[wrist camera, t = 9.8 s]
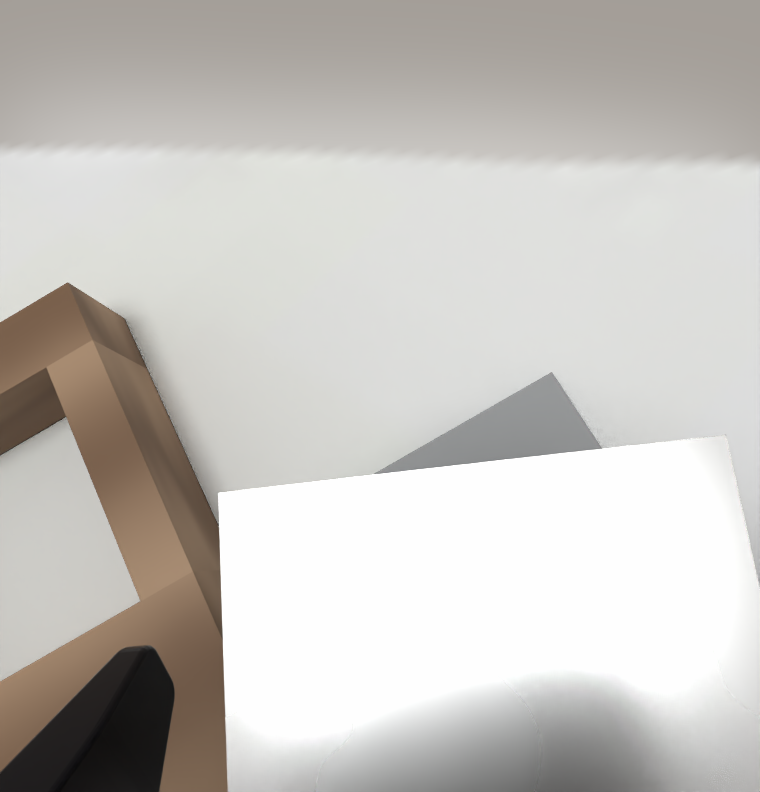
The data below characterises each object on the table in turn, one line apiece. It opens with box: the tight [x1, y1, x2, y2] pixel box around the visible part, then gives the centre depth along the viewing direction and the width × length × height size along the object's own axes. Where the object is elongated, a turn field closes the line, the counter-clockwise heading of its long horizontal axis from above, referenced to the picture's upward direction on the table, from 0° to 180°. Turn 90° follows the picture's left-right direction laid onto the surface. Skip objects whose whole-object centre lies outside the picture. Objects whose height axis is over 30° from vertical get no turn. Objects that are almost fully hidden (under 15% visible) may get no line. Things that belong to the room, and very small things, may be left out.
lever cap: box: [218, 435, 760, 792], centre depth 12 cm, size 4×5×12 cm
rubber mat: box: [373, 372, 602, 475], centre depth 18 cm, size 9×9×1 cm
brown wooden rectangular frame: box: [0, 283, 228, 792], centre depth 19 cm, size 14×11×3 cm
